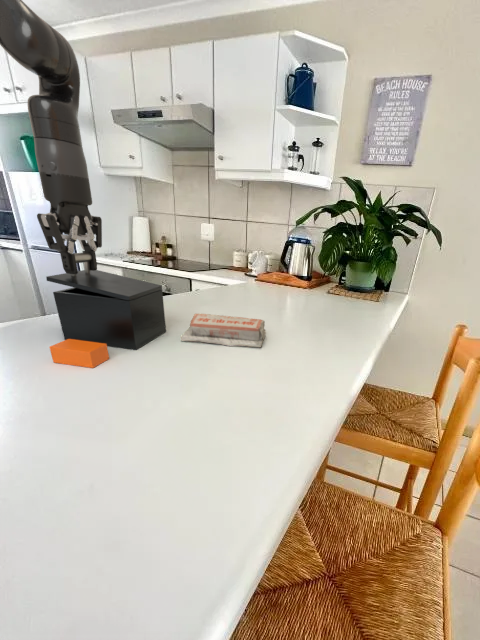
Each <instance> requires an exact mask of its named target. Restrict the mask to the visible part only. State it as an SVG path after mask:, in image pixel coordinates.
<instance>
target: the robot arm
mask: <svg viewBox="0 0 480 640" xmlns="http://www.w3.org/2000/svg"><path fill="white" fill-rule="evenodd" d="M0 47H1V48H2V49H3V50H4V51H5V52H6V53H7V54H8V55H9V56H10V57H11V58H12V59H13V60H14V61H15V62H16V63H18V64H19V65H20V66H21V67H23V68H24V69H26V70H27V71H29V72H30V73H33V75H36V76H37V77H38V94H32V95H30V96H29V97H28V99H27V112H28V117H29V122H30V127H31V132H32V136H33V142H34V153H35V159H36V164H37V169H38V173H39V174H38V175H39V179H40V183H41V184H40V185H41V189H42V192H43V197H44V199H45V200H46V201H48V202H49V203H50V209H49V212H47V213H40V212H39V213H37V214H36V218H37V221H38V223H39V226H40V229H41V231H42V234H43V236H44V239H45V241H46V244H47V246H48V249H50V250H54V251H57V252H58V253H59V255H60V259H61V264H62V268H63V270H64V272H65V273H68V274H77V273H78V271H79V270H78V265H77V263H76V259H75V254H74V249H75V243H76V242H77V240H78V242H79V245H80V247H81V249H82V250H81V253H84V252H88V253H90V254H91V256H92V260H91V261H89V263H90V270H92V271H94V270H98V262H97V256H96V252H97V250H98V248H102V247H103V228H102V227H103V220H102V217H101V216H97V215H92V214H91V212H90V210H89V206H92V205H93V197H92V192H91V191H92V190H91V183H90V178H89V177H90V176H89V171H88V165H87V160H86V156H85V152H84V148H83V141H82V135H81V129H80V124H79V118H78V117H79V109H80V91H81V75H80V74H81V73H80V67H79V62H78V59H77V56H76V54H75V51H74V49H73V47H72V45H71V44H70V43H69V41H68V40H67V38H66V37H65V36H64V35H63V34H61V33H60V32H59V31H58V30H56V29H55V28H54V27H52V25H50V24H49V23H47V22H46V21H45V20H44V19H42V18H41V17H40V16H39V15H38V14H37V13H36V12H34V10H32V9H31V8H30V7H29V6H28V5H27V4H26V3H25V2H24V1H23V0H0ZM94 239H95V240H94ZM65 242H66V244H65Z"/></svg>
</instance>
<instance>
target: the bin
mask: <svg viewBox="0 0 480 640" xmlns="http://www.w3.org/2000/svg"><path fill="white" fill-rule="evenodd" d="M52 293H53V298H54V302H55V305H56V306H55V307H56V310H57V314H58V319H59V322H60V326H61V331H62V335H63V338H64V340H67V339H75V340H82V341H90V342H98V343H105V344H107V347H110V348H111V347H112V348H118V349H127V350H133V351H137V350H139V349H140V348H142V347H143V346H145V345H147V344H149V343H151V342H152V341H154V340H156V339H158V338H159V337H160V336H162V335H163V334H165V333H166V332H167V324H166V315H165V305H164V303H165V302H164V294H163V293H164V292H163V288H162V289H161V290H158V291H155V292H152V293H150V294H147V295H144V296H141V297H138V298H135V299H133V300H130V301H128V300H124V299H120V298H116V297H112V296H107V295H103V294H99V293H95V292H91V291H87V290H83V289H79V288H74V287H68V288H65V289H60V290H55V291H53V292H52Z"/></svg>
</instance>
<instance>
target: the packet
mask: <svg viewBox="0 0 480 640" xmlns="http://www.w3.org/2000/svg"><path fill="white" fill-rule="evenodd" d="M49 351H50V354H51V358H52V359H51V360H52V362H53V363H54V364H61V365H69V366H74V367H75V366H76V367H83V368H90V369H94V368H96V367H98V366H99V365H101V364H103V363H104V362H106V361H108V360H110V354H109V349H108V346H107V344H105V343H98V342H90V341H82V340H75V339H67V340H65V339H64V340H61V341H60V342H57V343H55V344H53V345H50V346H49Z"/></svg>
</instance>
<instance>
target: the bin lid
mask: <svg viewBox="0 0 480 640" xmlns="http://www.w3.org/2000/svg"><path fill="white" fill-rule="evenodd" d="M73 254H75V259H76V264H82V263H83V264H84V269H83V270H78V273H77V274H68V273H66V272H65V273H60V274H53V275H47V276H45V278H46V281H47V282H50V283H55V284H58V285H63V286H66V287H69V288H73V287H74V288H79V289H83V290H87V291H91V292H95V293H99V294H103V295H107V296H112V297H116V298H120V299H124V300H128V301H130V300H133V299H135V298H138V297H141V296H144V295H147V294H150V293H152V292H155V291H158V290H161V289H162V290H163V285H161V284H158V283H152V282H149V281H145V280H140V279H137V278H132V277H128V276H123V275H119V274H115V273H112V272H106V271H103V270H99V269H97V270H94V271H92V270H90V263H89V261H91V260H92V256H91V254H90V253H88V252H84V253H83V252H73Z"/></svg>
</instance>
